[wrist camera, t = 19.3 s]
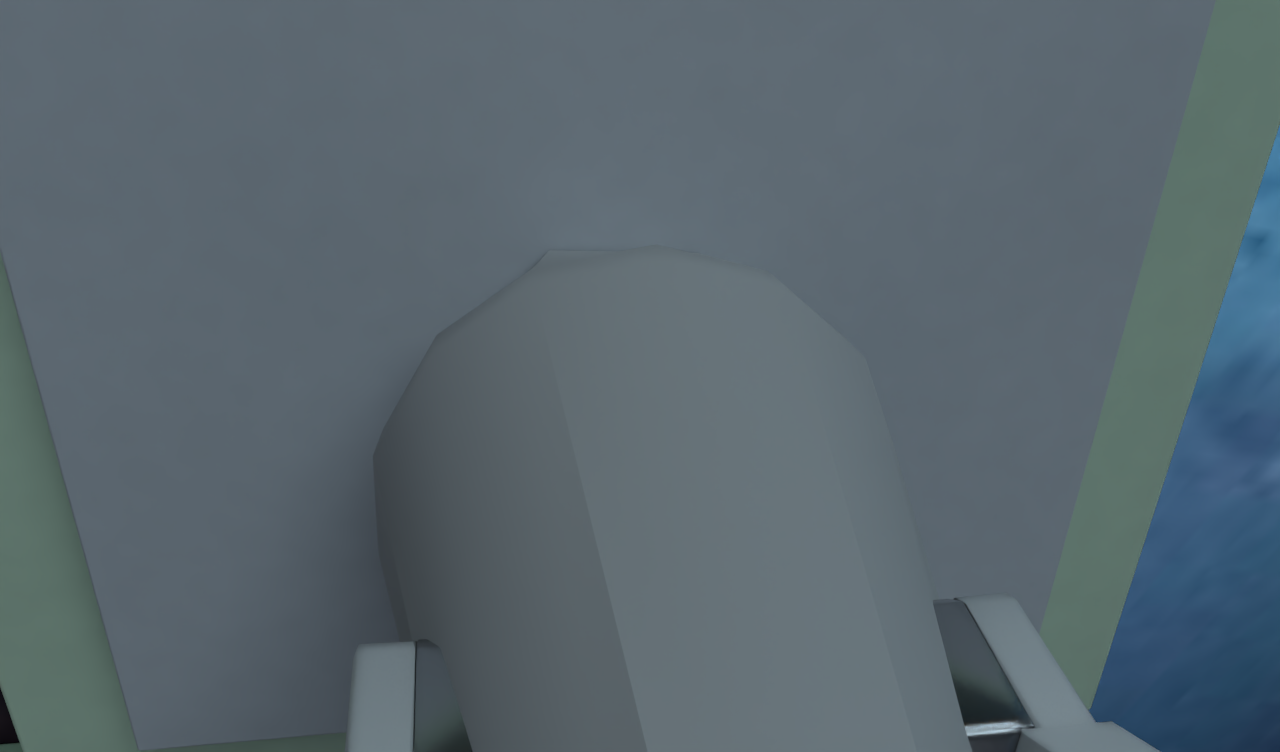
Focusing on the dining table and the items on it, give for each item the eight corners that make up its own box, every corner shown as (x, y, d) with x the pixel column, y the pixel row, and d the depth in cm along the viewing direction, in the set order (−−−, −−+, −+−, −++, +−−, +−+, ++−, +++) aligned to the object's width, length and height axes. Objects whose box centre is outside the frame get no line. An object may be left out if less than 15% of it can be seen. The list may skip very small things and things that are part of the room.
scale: (1261, -313, 15) (1479, -313, 12) (1021, 601, 23) (1113, 746, 20) (-217, -373, 13) (-439, -393, 10) (90, 674, 21) (26, 854, 18)
